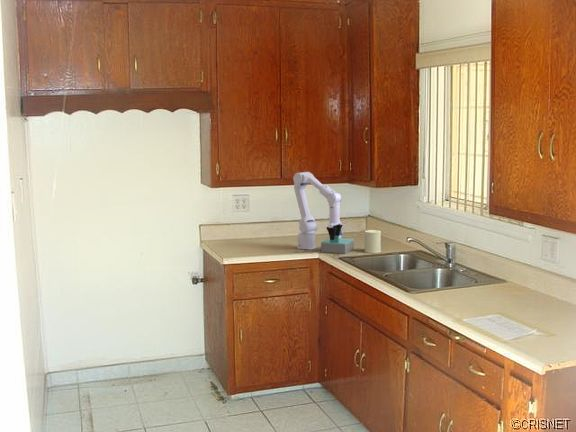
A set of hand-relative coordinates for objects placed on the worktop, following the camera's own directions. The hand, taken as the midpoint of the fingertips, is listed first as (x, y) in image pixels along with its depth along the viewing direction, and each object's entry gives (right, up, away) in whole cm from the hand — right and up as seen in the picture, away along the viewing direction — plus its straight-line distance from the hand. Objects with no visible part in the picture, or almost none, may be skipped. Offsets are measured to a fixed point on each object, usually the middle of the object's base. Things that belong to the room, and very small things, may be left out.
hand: (334, 238), depth 386 cm
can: (+22, -7, +3) cm, 23 cm away
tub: (+2, -7, +6) cm, 9 cm away
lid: (+1, -3, +2) cm, 4 cm away
